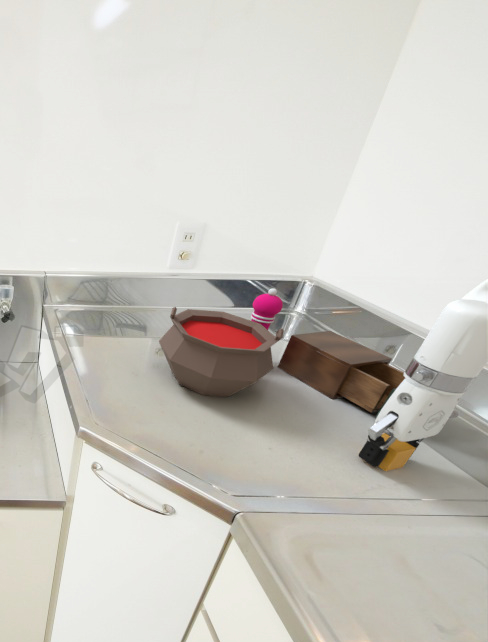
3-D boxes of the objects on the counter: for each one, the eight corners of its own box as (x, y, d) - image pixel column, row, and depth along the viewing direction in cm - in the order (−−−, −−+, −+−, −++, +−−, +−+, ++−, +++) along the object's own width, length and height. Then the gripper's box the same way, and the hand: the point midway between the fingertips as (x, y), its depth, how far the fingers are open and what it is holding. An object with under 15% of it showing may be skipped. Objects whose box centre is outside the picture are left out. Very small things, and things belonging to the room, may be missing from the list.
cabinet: (372, 392, 98) (392, 358, 94) (332, 399, 95) (351, 364, 91) (314, 361, 110) (330, 330, 106) (277, 367, 107) (291, 334, 103)
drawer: (453, 432, 85) (475, 402, 81) (414, 440, 82) (435, 410, 78) (355, 380, 101) (370, 354, 97) (319, 386, 98) (333, 358, 94)
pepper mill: (233, 367, 106) (262, 291, 96) (226, 354, 112) (252, 281, 102) (264, 371, 105) (297, 295, 95) (255, 358, 111) (285, 285, 101)
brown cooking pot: (259, 371, 105) (284, 310, 97) (264, 423, 86) (297, 353, 78) (158, 347, 114) (174, 289, 106) (143, 389, 95) (161, 323, 87)
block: (376, 450, 80) (389, 432, 78) (402, 467, 76) (416, 448, 74) (359, 454, 79) (371, 435, 77) (385, 471, 75) (398, 452, 73)
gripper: (427, 395, 63) (369, 481, 72) (501, 381, 68) (438, 464, 76) (375, 369, 69) (327, 452, 78) (446, 359, 74) (393, 438, 83)
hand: (383, 457), depth 77 cm, fingers open, 6 cm apart
